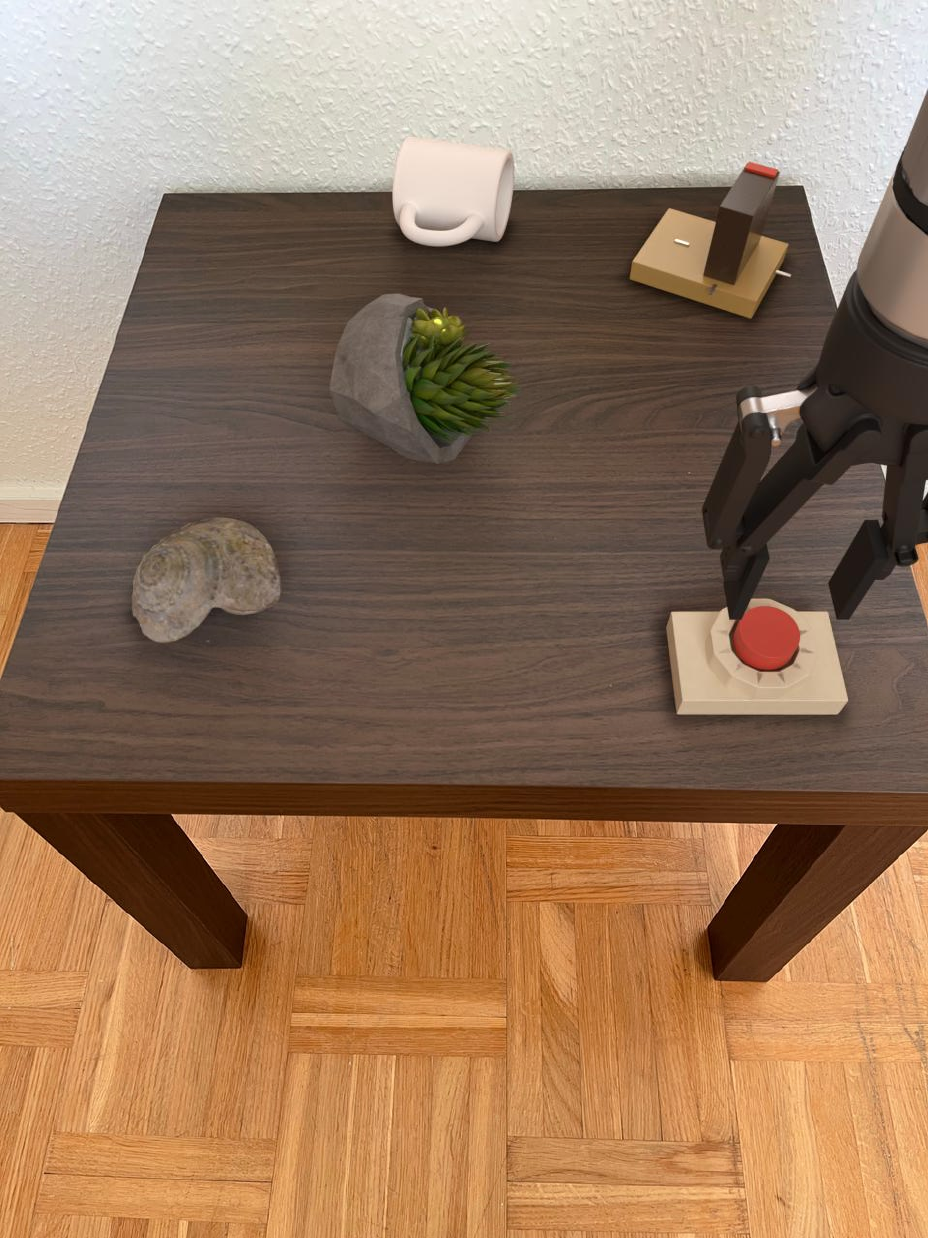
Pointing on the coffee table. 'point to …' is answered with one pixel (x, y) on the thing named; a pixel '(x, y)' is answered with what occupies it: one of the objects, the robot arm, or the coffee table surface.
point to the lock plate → (681, 260)
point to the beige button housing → (731, 686)
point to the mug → (451, 191)
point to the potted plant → (416, 379)
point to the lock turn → (740, 222)
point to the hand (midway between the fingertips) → (785, 600)
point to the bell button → (766, 638)
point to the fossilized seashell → (203, 577)
